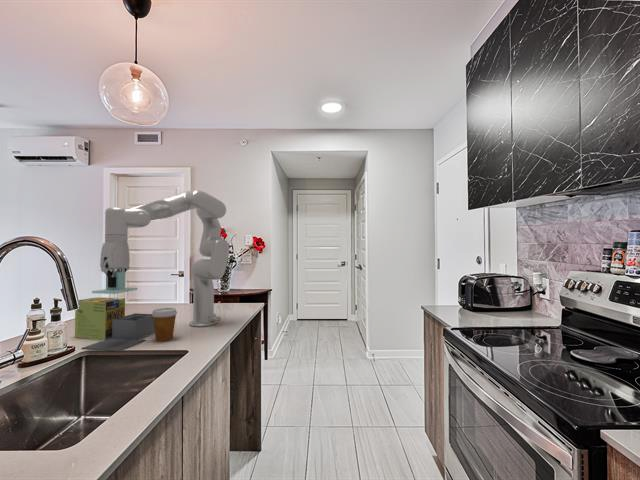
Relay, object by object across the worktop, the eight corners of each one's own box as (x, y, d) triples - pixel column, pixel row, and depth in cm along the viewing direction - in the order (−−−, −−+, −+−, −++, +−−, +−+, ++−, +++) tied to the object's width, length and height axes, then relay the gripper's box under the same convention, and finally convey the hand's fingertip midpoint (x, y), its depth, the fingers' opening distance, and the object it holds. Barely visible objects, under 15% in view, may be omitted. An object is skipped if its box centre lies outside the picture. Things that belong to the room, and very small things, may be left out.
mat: (146, 340, 133) (146, 339, 133) (119, 351, 119) (119, 350, 119) (111, 338, 136) (111, 337, 136) (81, 348, 122) (81, 347, 122)
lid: (137, 289, 133) (137, 270, 133) (114, 294, 121) (114, 272, 121) (116, 289, 134) (116, 270, 134) (92, 293, 123) (92, 272, 123)
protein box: (105, 340, 134) (105, 302, 134) (74, 338, 137) (74, 300, 137) (125, 333, 144) (126, 297, 144) (95, 331, 147) (96, 296, 147)
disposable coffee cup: (182, 337, 137) (182, 308, 137) (162, 343, 129) (162, 313, 129) (165, 335, 141) (166, 307, 141) (145, 340, 133) (146, 311, 133)
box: (156, 331, 146) (157, 314, 146) (135, 340, 133) (135, 321, 133) (135, 330, 148) (135, 313, 148) (111, 338, 135) (112, 319, 135)
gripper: (123, 239, 137) (123, 284, 136) (90, 239, 121) (89, 289, 120) (139, 239, 135) (139, 284, 135) (107, 239, 119) (106, 289, 119)
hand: (115, 286), depth 128 cm, fingers closed on lid, 2 cm apart
